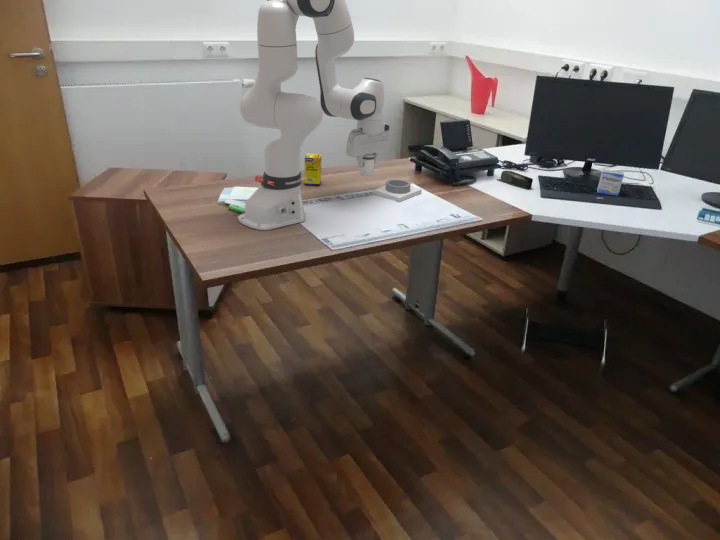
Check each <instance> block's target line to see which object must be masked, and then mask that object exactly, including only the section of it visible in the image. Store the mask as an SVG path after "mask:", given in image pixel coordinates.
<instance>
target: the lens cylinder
mask: <svg viewBox="0 0 720 540" xmlns="http://www.w3.org/2000/svg"><path fill="white" fill-rule="evenodd" d="M374 158H375V155H373V154H372V153H371V154H367V155H363V158H362V160H363V162H365V164H364V167H362V168H360V167H359V175H360V176H364V177H372V176H374V167H375V164H374Z"/></svg>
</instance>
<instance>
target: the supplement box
mask: <svg viewBox="0 0 720 540" xmlns="http://www.w3.org/2000/svg"><path fill="white" fill-rule="evenodd" d="M321 183H322V153H306V154H305V156H304V186H313V187H320V186H321Z"/></svg>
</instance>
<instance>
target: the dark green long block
mask: <svg viewBox="0 0 720 540" xmlns="http://www.w3.org/2000/svg"><path fill="white" fill-rule="evenodd" d="M496 181H499V182H502V183H505V184H508V185H511V186H515V187H517V188H520V189H523V190H531V189H532V186H533V181H534V179H533V178H531V177H528V176H526V175H523V174H520V173H518V172H515V171H512V170H503V171H502V172H501V174H500V178H496Z"/></svg>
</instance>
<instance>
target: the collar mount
mask: <svg viewBox="0 0 720 540" xmlns="http://www.w3.org/2000/svg"><path fill="white" fill-rule="evenodd" d="M422 190H423V189H422V188H418V187H414V186H412V185H411V182H409V181H408V180H404V179H397V178H395V179H388V180H386V182H385V185H383V186H381V187H378V188H375V189H373V192H372V193H373V195H375V196H378V197H379V196H380V197H382V198H386V199H389V200H391V199H392V201H394V200H395V202H397V201H398V203H400V202H403V201H406V200H407V199H410V197H411V198H414V197H415V195H416V196H417V195H420V193H421V194H422Z"/></svg>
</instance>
